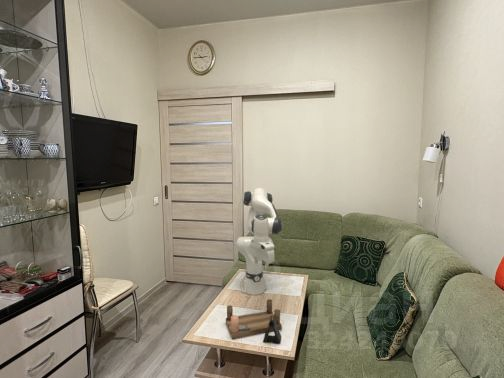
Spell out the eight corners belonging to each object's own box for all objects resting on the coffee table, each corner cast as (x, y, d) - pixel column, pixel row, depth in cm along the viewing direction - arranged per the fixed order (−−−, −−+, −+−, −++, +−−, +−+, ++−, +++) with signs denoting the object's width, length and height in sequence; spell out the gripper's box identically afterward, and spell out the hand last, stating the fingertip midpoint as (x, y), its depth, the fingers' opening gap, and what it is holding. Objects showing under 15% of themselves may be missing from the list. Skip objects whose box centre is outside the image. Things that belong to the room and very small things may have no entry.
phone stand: (262, 342, 157) (262, 320, 156) (264, 335, 163) (264, 314, 161) (280, 344, 155) (280, 322, 154) (281, 337, 161) (281, 316, 160)
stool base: (225, 322, 175) (225, 305, 173) (271, 314, 183) (271, 298, 181) (232, 339, 160) (232, 320, 158) (281, 330, 168) (281, 312, 166)
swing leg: (248, 325, 166) (248, 313, 165) (250, 330, 162) (250, 317, 161) (230, 328, 163) (230, 315, 162) (231, 333, 159) (231, 319, 158)
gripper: (246, 239, 183) (246, 261, 185) (267, 248, 167) (267, 272, 168) (255, 237, 187) (255, 259, 189) (276, 246, 170) (276, 270, 172)
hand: (261, 265), depth 178 cm, fingers open, 8 cm apart
